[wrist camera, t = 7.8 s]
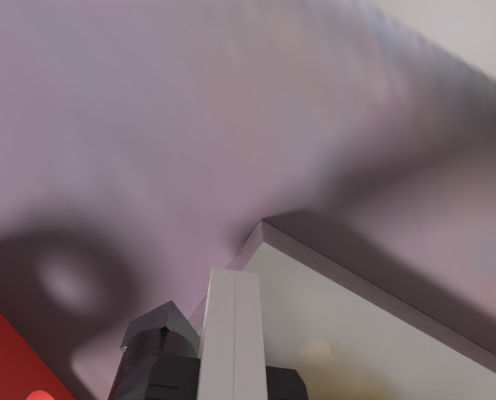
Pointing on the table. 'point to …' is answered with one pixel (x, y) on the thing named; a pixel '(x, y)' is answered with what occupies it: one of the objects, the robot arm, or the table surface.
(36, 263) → the table surface
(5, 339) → the bracket
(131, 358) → the ball knob lever
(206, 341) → the robot arm
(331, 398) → the flange plate
